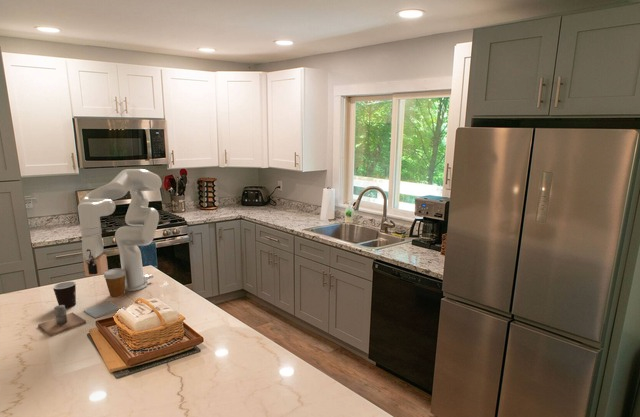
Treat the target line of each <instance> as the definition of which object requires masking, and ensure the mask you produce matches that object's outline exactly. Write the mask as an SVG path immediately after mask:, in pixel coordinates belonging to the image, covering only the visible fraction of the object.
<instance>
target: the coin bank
mask: <svg viewBox="0 0 640 417" xmlns="http://www.w3.org/2000/svg"><path fill="white" fill-rule="evenodd" d="M90 258H93V257H90ZM82 261H83V268H84V273H85V274H84V275H85V277H89V276H90V277H91V276H102V275H103V276H104V273H105V272H106V271H108V270H109V267H108V259H107V254H103V255H99V256H98V257H97V258H96V259H95V265H96V266H97V274H89V271H88V266H87V263H86V261H85V259H84V258H83V260H82ZM91 261H92V262H93V260H91Z"/></svg>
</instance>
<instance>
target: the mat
mask: <svg viewBox="0 0 640 417" xmlns="http://www.w3.org/2000/svg"><path fill="white" fill-rule="evenodd" d="M120 308H121V309H122V307H120V306H119V305H117V304H115V303H113V302H111V301H107V302H106V301H105V302H103V303H101V304H97V305H95V306H92V307H89V308H86V309H84V310H83V312H84V313H85V314H87V315H88V316H90V317H92V318H94V319H98V318H101V317H103V316H107V315H109V314H111V313H114V312H116V311H119V310H118V309H120ZM121 309H120V310H121Z"/></svg>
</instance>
